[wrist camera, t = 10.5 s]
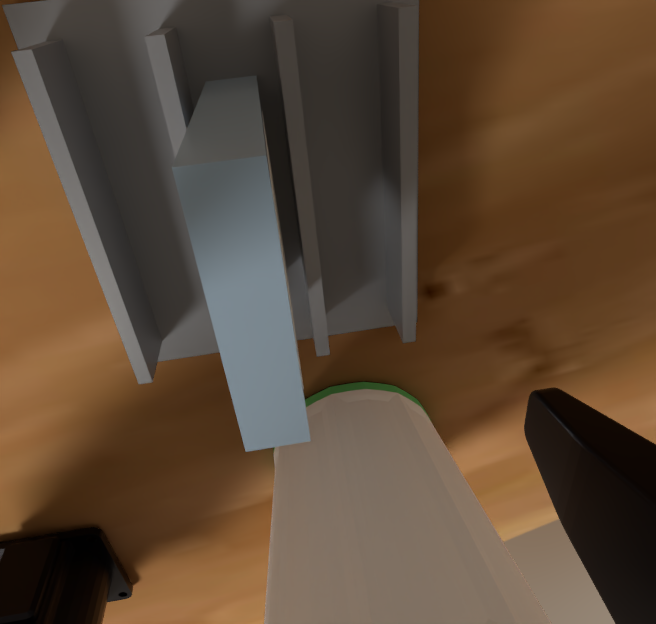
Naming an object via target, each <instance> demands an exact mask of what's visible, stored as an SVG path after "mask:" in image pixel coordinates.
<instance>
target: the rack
mask: <svg viewBox="0 0 656 624" xmlns="http://www.w3.org/2000/svg"><path fill="white" fill-rule="evenodd" d="M2 7H3V10H4V12H5V15H6V18H7V20H8V23H9V26H10V28H11V31H12V34H13V36H14V39H15V42H16V44H17V47H18V50H15V51H12V52H11V53H12V55H13V58H14V61H15V63H16V66H17V68H18V71H19V74H20V76H21V79H22V81H23V84H24V87H25V89H26V92H27V94H28V97H29V100H30V102H31V105H32V107H33V110H34V113H35V115H36V118H37V120H38V123H39V126H40V128H41V131H42V133H43V136H44V139H45V141H46V144H47V146H48V149H49V152H50V154H51V157H52V159H53V162H54V165H55V167H56V170H57V173H58V175H59V178H60V180H61V183H62V186H63V188H64V191H65V193H66V196H67V199H68V201H69V204H70V206H71V209H72V212H73V214H74V217H75V219H76V222H77V225H78V227H79V230H80V232H81V235H82V238H83V240H84V243H85V245H86V248H87V251H88V253H89V256H90V258H91V261H92V264H93V266H94V269H95V271H96V274H97V277H98V279H99V282H100V285H101V287H102V290H103V292H104V295H105V298H106V300H107V303H108V305H109V308H110V311H111V313H112V316H113V318H114V321H115V324H116V326H117V329H118V331H119V334H120V337H121V339H122V342H123V344H124V347H125V350H126V352H127V355H128V357H129V360H130V363H131V365H132V368H133V370H134V373H135V376H136V378H137V381H138V383H139V384H144V383H151V382H153V378H154V374H155V370H156V365H157V362H160V361H167V360H173V359H180V358H186V357H193V356H199V355H206V354H212V353H219V352H220V351H219V348H218V344H217V340H216V336H215V332H214V328H213V324H212V321H211V317H210V313H209V309H208V305H207V301H206V298H205V294H204V290H203V286H202V282H201V278H200V274H199V271H198V267H197V263H196V259H195V255H194V251H193V248H192V244H191V240H190V236H189V232H188V228H187V224H186V221H185V217H184V213H183V209H182V205H181V201H180V198H179V194H178V190H177V186H176V182H175V178H174V174H173V171H172V166H173V163H174V161H175V158H176V156H177V153H178V150H179V148H180V145H181V143H182V140H183V138H184V135H185V133H186V130H187V128H188V125H189V123H190V120H191V118H192V115H193V113H194V110H195V108H196V105H197V103H198V100H199V97H200V95H201V92H202V90H203V87H204V85H205V82H206V81H214V80H223V79H231V78H239V77H248V76H256V75H257V82H258V88H259V95H260V101H261V108H262V111H263V117H264V124H265V130H266V137H267V144H268V150H269V157H270V163H271V170H272V176H273V183H274V189H275V196H276V202H277V209H278V215H279V222H280V228H281V235H282V241H283V248H284V254H285V261H286V268H287V275H288V282H289V289H290V296H291V303H292V310H293V317H294V324H295V331H296V337H297V340H304V339H310V338H313V339H314V344H315V350H316V355H317V357H318V356H324V355H330V350H329V341H328V336H330V335H336V334H343V333H349V332H356V331H362V330H369V329H375V328H382V327H388V326H396V328H397V331H398V333H399V335H400V338H401V340H402V342H403V343H408V342H414V341H416V322H417V283H418V97H419V0H45V1H36V2H26V3H17V4H8V5H2Z"/></svg>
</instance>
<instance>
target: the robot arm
mask: <svg viewBox="0 0 656 624" xmlns="http://www.w3.org/2000/svg"><path fill="white" fill-rule="evenodd" d="M524 431H525V436H526V440H527V442H528V445H529V447H530V449H531V452H532V454H533V457H534V459H535V462H536V464H537V466H538V469H539V471H540V474H541V476H542V479H543V481H544V483H545V486H546V488H547V491H548V493H549V495H550V498H551V500H552V503H553V505H554V508H555V510H556V512H557V514H558V517H559V519H560V521H561V523H562V525H563V527H564V529H565V531H566V533H567V535H568V537H569V539H570V541H571V543H572V544H573V546H574V548H575V550H576V552H577V554H578V556H579V557H580V559H581V561H582V563H583V565H584V567H585V568H586V570H587V572H588V574H589V576H590V578H591V579H592V581H593V583H594V585H595V587H596V589H597V590H598V592H599V594H600V596H601V598H602V600H603V601H604V603H605V605H606V607H607V609H608V611H609V612H610V614H611V616H612V618H613V620H614V622H615V624H656V444H654V443H652V442H650V441H649V440H647V439H645V438H644V437H642V436H640V435H638V434H637V433H635V432H633V431H631V430H630V429H628V428H626V427H625V426H623V425H621V424H619V423H618V422H616V421H614V420H612V419H611V418H609V417H607V416H605V415H604V414H602V413H600V412H599V411H597V410H595V409H593V408H592V407H590V406H588V405H586V404H585V403H583V402H581V401H579V400H578V399H576V398H574V397H573V396H571V395H569V394H567V393H566V392H564V391H562V390H560V389H558V388H547V389H541V390H535V391H533V392H532V393H531V394H530V396H529V400H528V406H527V412H526V418H525V424H524ZM132 591H133V586H132V584H131V582H130V581H129V579H128V577H127V575H126V573H125V571H124V570H123V568H122V566H121V564H120V562H119V561H118V559H117V557H116V555H115V553H114V551H113V550H112V548H111V546H110V544H109V542H108V540H107V539H106V537H105V535H104V533H103V531H102V530H101V529H99V528H95V527H91V528H85V529H79V530H73V531H67V532H61V533H56V534H50V535H44V536H38V537H32V538H27V539H21V540H15V541H9V542H3V543H0V624H102V622H103V617H104V613H105V608H106V604H107V602H111V601H117V600H122V599H127V598H129V597H131V595H132Z"/></svg>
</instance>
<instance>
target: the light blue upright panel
mask: <svg viewBox="0 0 656 624" xmlns="http://www.w3.org/2000/svg"><path fill="white" fill-rule="evenodd" d="M172 171H173V174H174V178H175V182H176V186H177V190H178V194H179V198H180V201H181V205H182V209H183V213H184V217H185V221H186V224H187V228H188V232H189V236H190V240H191V244H192V248H193V251H194V255H195V259H196V263H197V267H198V271H199V274H200V278H201V282H202V286H203V290H204V294H205V298H206V301H207V305H208V309H209V313H210V317H211V321H212V324H213V328H214V332H215V336H216V340H217V344H218V348H219V351H220V355H221V359H222V363H223V367H224V371H225V374H226V378H227V382H228V386H229V390H230V394H231V398H232V401H233V405H234V409H235V413H236V417H237V421H238V424H239V428H240V432H241V436H242V440H243V444H244V447H245V451H246V452H248V451H254V450H260V449H266V448H272V447H278V446H284V445H291V444H297V443H303V442H309V441H311V438H310V431H309V424H308V417H307V410H306V403H305V396H304V386H303V379H302V372H301V365H300V358H299V351H298V344H297V337H296V331H295V324H294V317H293V310H292V303H291V296H290V289H289V282H288V275H287V268H286V261H285V254H284V248H283V241H282V235H281V228H280V222H279V215H278V209H277V202H276V196H275V189H274V183H273V176H272V170H271V163H270V157H269V150H268V144H267V137H266V130H265V124H264V117H263V111H262V108H261V101H260V95H259V88H258V82H257V75H256V76H248V77H239V78H231V79H223V80H214V81H206V82H205V85H204V87H203V90H202V92H201V95H200V97H199V100H198V103H197V105H196V108H195V110H194V113H193V115H192V118H191V120H190V123H189V125H188V128H187V130H186V133H185V135H184V138H183V140H182V143H181V145H180V148H179V150H178V153H177V156H176V158H175V161H174V163H173V166H172Z"/></svg>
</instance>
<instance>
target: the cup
mask: <svg viewBox="0 0 656 624" xmlns="http://www.w3.org/2000/svg"><path fill="white" fill-rule="evenodd" d="M305 403H306V410H307V417H308V424H309V431H310V438H311V441H309V442H303V443H297V444H291V445H284V446H278V447H273V450H274V454H273V456H274V465H275V478H274V492H273V506H272V520H271V534H270V548H269V562H268V577H267V591H266V605H265V619H264V624H552V623H551V622H550V620H549V618H548V616H547V615H546V613H545V611H544V610H543V608H542V606H541V605H540V603H539V601H538V600H537V598H536V596H535V595H534V593H533V592H532V590H531V588H530V586H529V585H528V583H527V581H526V580H525V578H524V576H523V575H522V574H521V571H520V570H519V568H518V566H517V565H516V563H515V561H514V560H513V558H512V556H511V555H510V553H509V551H508V550H507V548H506V546H505V545H504V543H503V541H502V540H501V538H500V536H499V535H498V533H497V531H496V530H495V528H494V526H493V525H492V523H491V521H490V519H489V518H488V516H487V514H486V513H485V511H484V509H483V508H482V506H481V504H480V503H479V501H478V499H477V498H476V496H475V494H474V493H473V491H472V489H471V488H470V486H469V484H468V483H467V481H466V479H465V478H464V476H463V474H462V473H461V471H460V469H459V468H458V466H457V464H456V463H455V461H454V459H453V458H452V456H451V454H450V453H449V451H448V449H447V448H446V446H445V444H444V443H443V441H442V439H441V438H440V436H439V434H438V433H437V431H436V429H435V427H434V426H433V424H432V422H431V420H430V418H429V416H428V414H427V413H426V411H425V409H424V408H423V406H422V405H421V404H420V402H419V401H418V400H417V399H416V398H414V397H413V396H411V395H410V394H408V393H407V392H405V391H403V390H401V389H400V388H398V387H396V386H393V385H387V384H380V383H370V382H358V383H350V384H343V385H338V386H332V387H329V388H327V389H325V390H323V391H321V392H319V393H316V394H314V395H313V396H311V397H309V398H308V399H306V400H305Z"/></svg>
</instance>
